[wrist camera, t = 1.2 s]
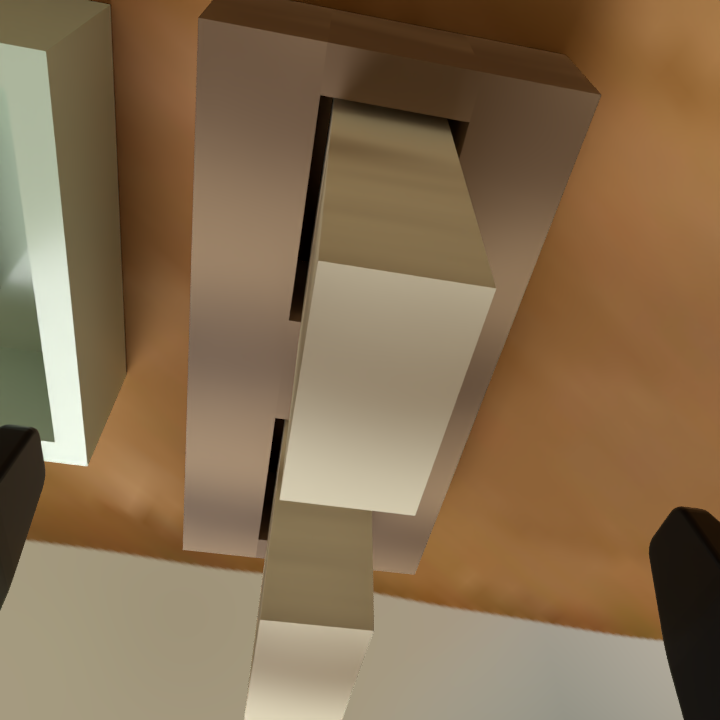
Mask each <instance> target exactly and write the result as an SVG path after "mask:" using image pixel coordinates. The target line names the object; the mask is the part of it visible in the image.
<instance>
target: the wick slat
mask: <svg viewBox="0 0 720 720" xmlns="http://www.w3.org/2000/svg"><path fill="white" fill-rule="evenodd" d="M288 426H289V420H287V419H284V424H283V431H282V437H281V444H280V450H279V457H278V464H277V471H276V479H275V486H274V494H273V501H272V509H271V517H270V524H269V532H268V540H267V547H266V555H265V563H264V570H263V578H262V585H261V594H260V601H259V609H258V616H257V624H256V631H255V639H254V646H253V655H252V662H251V669H250V677H249V685H248V692H247V700H246V707H245V715H244V720H342V718H343V716H344V713H345V710H346V707H347V704H348V702H349V699H350V696H351V693H352V690H353V688H354V685H355V682H356V679H357V677H358V674H359V671H360V668H361V665H362V663H363V660H364V657H365V654H366V651H367V649H368V646H369V643H370V640H371V637H372V635H373V632H374V611H373V544H372V511H370V510H362V509H353V508H345V507H336V506H328V505H319V504H310V503H302V502H293V501H285V500H280V492H281V484H282V476H283V467H284V459H285V451H286V442H287V434H288Z"/></svg>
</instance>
